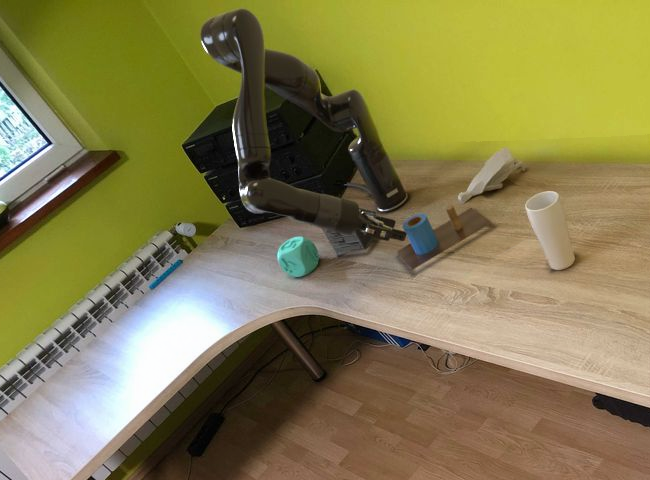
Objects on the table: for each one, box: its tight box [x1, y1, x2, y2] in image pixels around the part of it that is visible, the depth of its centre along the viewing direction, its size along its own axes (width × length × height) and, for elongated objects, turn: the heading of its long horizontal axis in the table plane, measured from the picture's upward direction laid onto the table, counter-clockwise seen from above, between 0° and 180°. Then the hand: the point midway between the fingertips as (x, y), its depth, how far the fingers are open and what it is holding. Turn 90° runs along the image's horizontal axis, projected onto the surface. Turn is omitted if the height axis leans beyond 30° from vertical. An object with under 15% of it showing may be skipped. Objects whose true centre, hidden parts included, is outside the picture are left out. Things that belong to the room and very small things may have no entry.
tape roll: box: [402, 213, 438, 255], centre depth 152 cm, size 6×6×8 cm
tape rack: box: [396, 204, 492, 271], centre depth 154 cm, size 12×22×8 cm, turn 111°
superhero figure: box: [457, 147, 526, 204], centre depth 164 cm, size 10×9×20 cm
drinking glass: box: [524, 190, 576, 271], centre depth 126 cm, size 7×7×15 cm
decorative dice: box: [276, 236, 320, 278], centre depth 174 cm, size 8×8×8 cm
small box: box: [322, 228, 375, 258], centre depth 169 cm, size 11×6×10 cm, turn 65°
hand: (399, 230), depth 150 cm, fingers open, 8 cm apart
